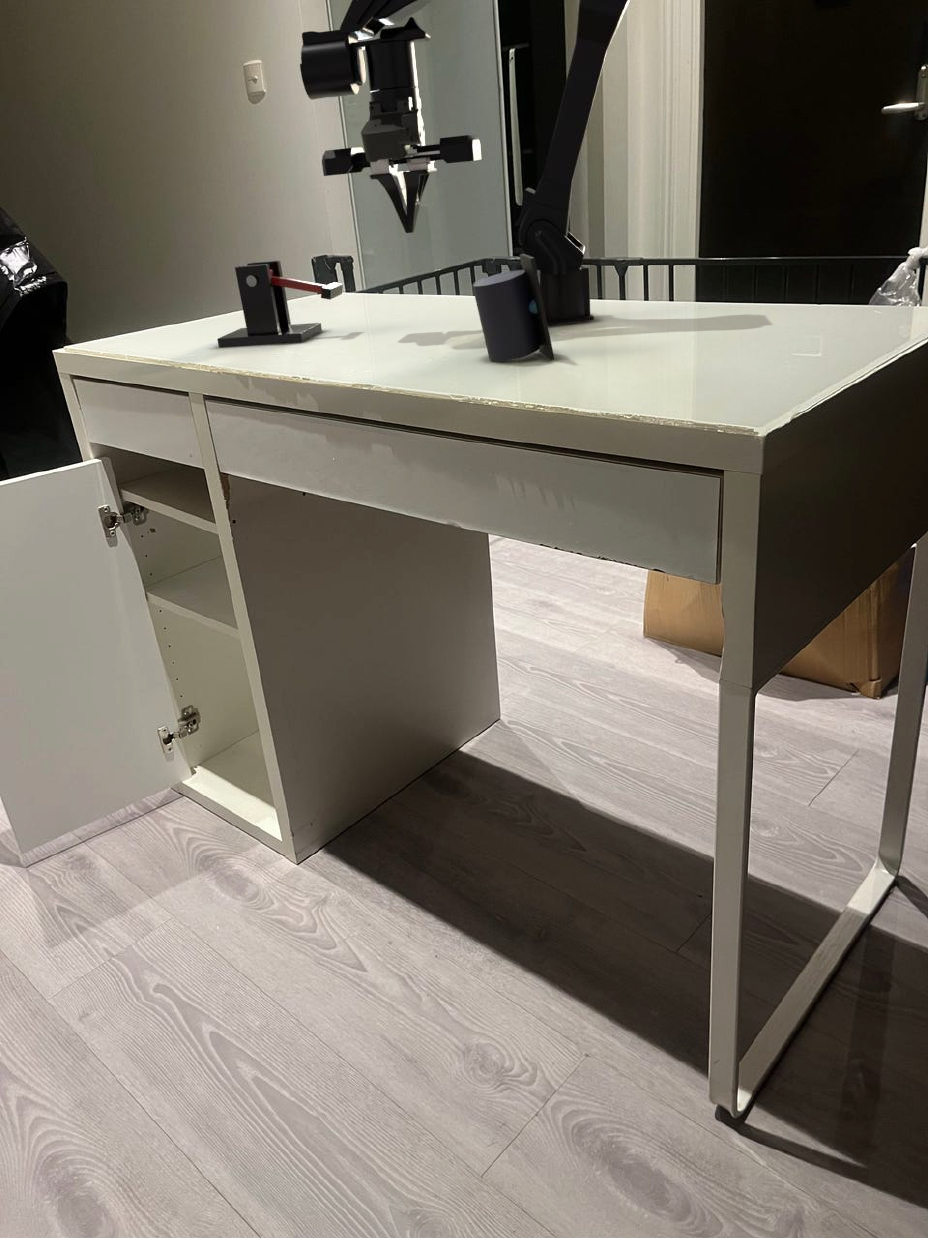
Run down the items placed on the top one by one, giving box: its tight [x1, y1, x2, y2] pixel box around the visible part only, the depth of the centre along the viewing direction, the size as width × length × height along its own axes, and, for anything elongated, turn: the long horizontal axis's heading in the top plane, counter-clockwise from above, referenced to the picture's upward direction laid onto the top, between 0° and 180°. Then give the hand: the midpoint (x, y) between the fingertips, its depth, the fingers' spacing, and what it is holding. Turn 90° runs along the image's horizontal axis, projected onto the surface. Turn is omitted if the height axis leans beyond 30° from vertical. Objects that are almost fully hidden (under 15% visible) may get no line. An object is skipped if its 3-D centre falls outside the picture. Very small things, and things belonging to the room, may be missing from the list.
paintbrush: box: [270, 269, 344, 301], centre depth 123 cm, size 12×5×2 cm, turn 79°
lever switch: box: [216, 260, 323, 349], centre depth 124 cm, size 12×8×10 cm, turn 79°
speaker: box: [472, 253, 555, 363], centre depth 98 cm, size 8×6×10 cm
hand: (409, 232), depth 116 cm, fingers closed
